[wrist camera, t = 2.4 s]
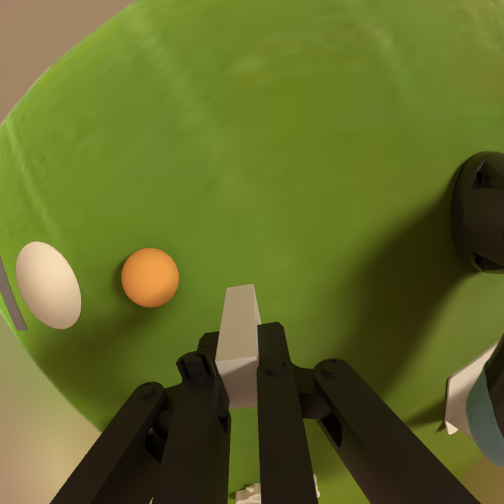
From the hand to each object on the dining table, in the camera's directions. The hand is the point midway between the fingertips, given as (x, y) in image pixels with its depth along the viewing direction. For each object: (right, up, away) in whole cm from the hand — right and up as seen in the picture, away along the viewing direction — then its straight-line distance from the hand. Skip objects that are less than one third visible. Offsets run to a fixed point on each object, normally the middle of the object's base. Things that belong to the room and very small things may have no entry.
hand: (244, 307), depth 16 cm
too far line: (-36, -3, +13) cm, 38 cm away
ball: (-9, +1, +9) cm, 13 cm away
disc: (-26, -1, +12) cm, 29 cm away
